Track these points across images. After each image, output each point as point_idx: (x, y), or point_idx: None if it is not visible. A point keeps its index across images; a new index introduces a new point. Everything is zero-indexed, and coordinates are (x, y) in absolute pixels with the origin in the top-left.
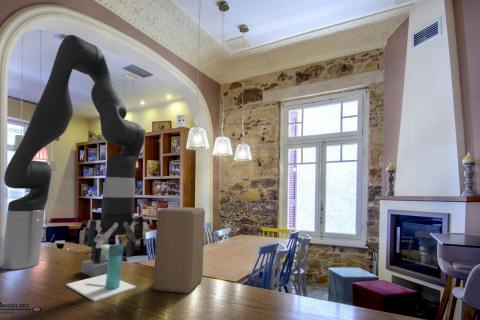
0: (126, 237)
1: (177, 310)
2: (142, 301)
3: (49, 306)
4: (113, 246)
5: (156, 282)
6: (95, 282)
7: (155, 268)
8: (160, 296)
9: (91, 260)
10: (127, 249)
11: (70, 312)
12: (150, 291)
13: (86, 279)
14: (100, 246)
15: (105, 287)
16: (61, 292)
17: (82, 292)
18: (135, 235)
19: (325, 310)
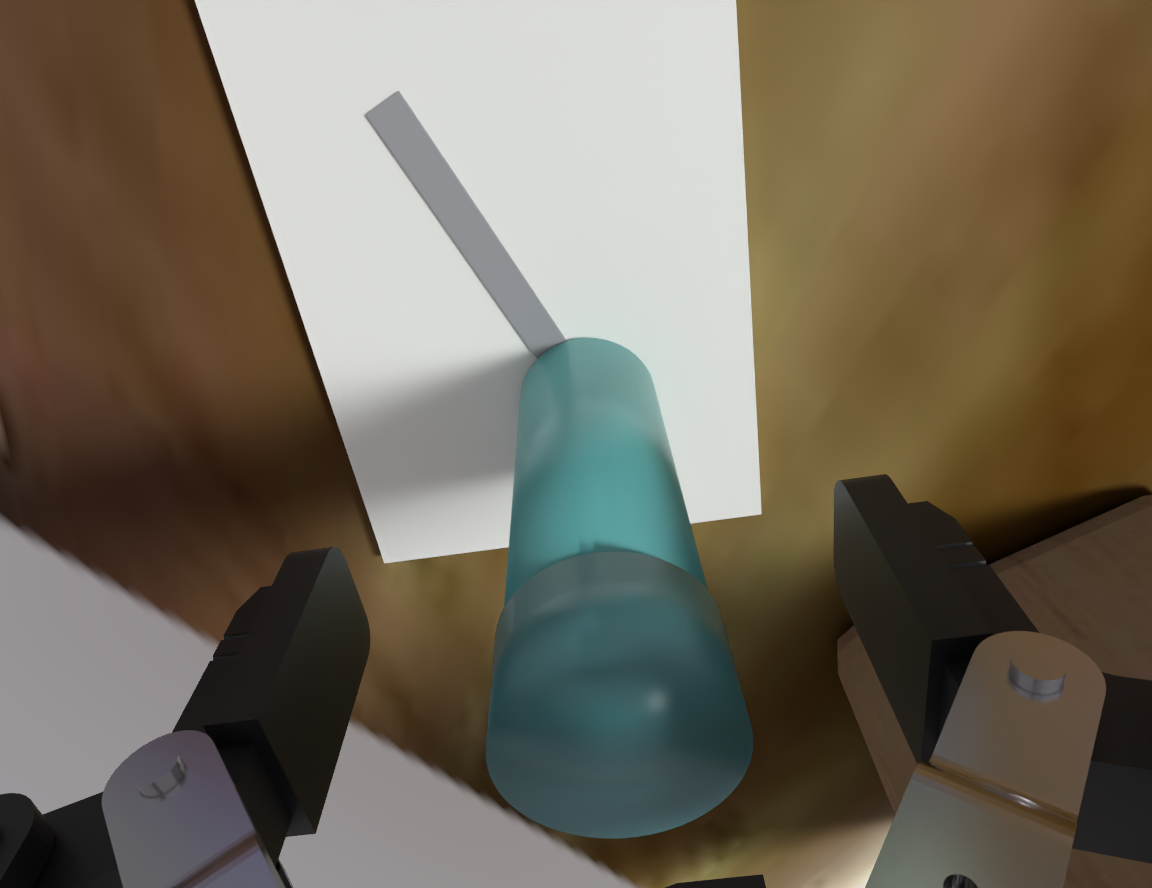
0: (944, 739)
1: None
2: None
3: (63, 422)
4: (548, 775)
5: (853, 711)
6: (491, 106)
7: (892, 803)
8: (796, 732)
9: (254, 607)
10: (871, 569)
11: (217, 608)
12: (804, 627)
13: None
14: (285, 871)
15: (520, 396)
16: (128, 126)
17: (315, 343)
18: (1144, 831)
19: None
